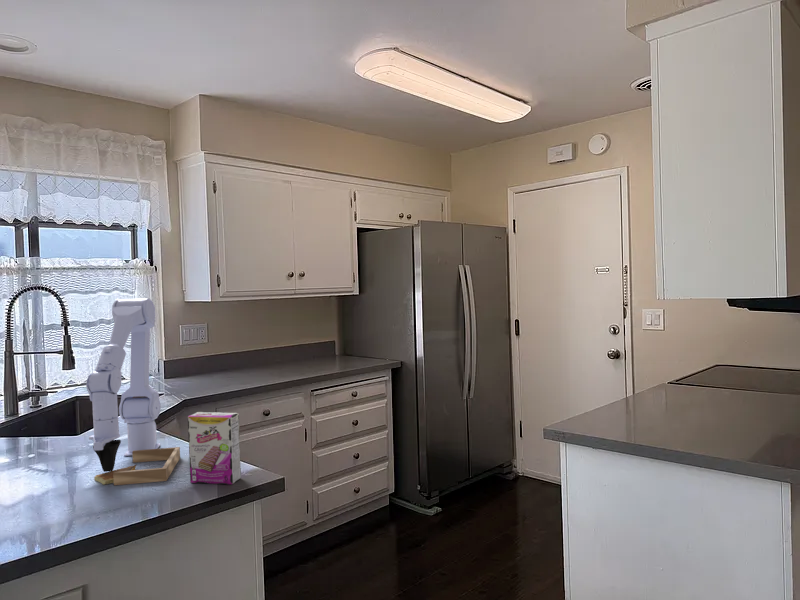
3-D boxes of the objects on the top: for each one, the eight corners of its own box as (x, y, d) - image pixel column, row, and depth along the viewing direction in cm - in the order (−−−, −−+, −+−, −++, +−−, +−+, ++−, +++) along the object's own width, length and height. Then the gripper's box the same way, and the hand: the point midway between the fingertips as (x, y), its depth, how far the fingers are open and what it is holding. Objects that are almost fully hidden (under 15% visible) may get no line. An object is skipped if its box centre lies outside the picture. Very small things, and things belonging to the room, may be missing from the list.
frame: (133, 461, 161) (133, 450, 161) (180, 457, 163) (179, 446, 163) (113, 485, 142) (113, 473, 142) (166, 480, 145) (166, 468, 145)
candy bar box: (189, 484, 142) (186, 416, 141) (199, 476, 147) (196, 411, 146) (233, 485, 140) (230, 416, 139) (242, 478, 145) (239, 411, 144)
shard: (136, 470, 155) (136, 463, 155) (150, 475, 150) (150, 468, 150) (93, 481, 147) (93, 474, 147) (106, 488, 142) (106, 480, 142)
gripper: (97, 412, 157) (100, 463, 157) (78, 425, 143) (81, 481, 143) (126, 410, 158) (128, 460, 159) (110, 423, 144) (113, 478, 144)
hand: (108, 470), depth 151 cm, fingers closed
